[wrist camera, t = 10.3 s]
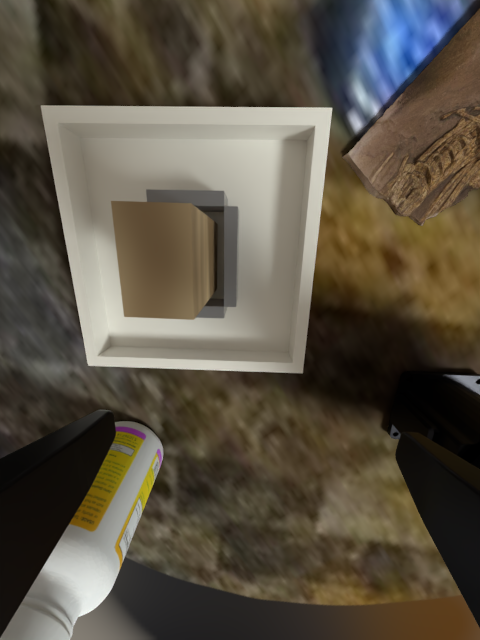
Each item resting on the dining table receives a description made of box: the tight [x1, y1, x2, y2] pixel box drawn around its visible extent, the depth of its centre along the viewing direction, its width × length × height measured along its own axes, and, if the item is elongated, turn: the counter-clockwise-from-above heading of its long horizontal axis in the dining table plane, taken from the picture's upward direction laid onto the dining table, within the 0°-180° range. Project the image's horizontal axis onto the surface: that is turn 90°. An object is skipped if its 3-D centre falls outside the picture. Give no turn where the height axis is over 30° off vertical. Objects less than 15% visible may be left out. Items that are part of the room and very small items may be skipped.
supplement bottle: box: [0, 421, 163, 640], centre depth 17 cm, size 7×7×13 cm
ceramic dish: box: [40, 105, 332, 373], centre depth 16 cm, size 16×16×3 cm
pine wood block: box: [111, 201, 218, 320], centre depth 13 cm, size 3×4×8 cm, turn 178°
